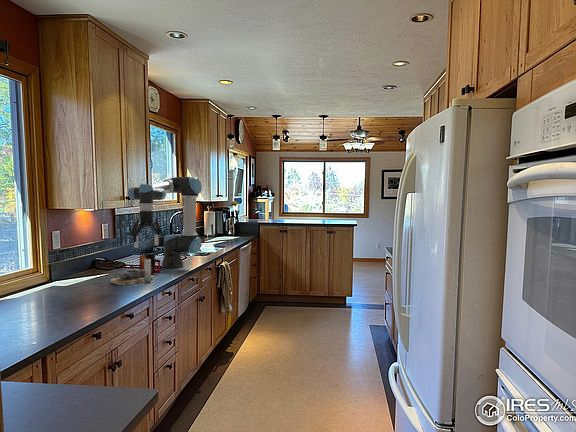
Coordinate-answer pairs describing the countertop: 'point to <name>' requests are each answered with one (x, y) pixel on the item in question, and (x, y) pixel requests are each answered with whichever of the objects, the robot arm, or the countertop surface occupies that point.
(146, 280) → the steel pin
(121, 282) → the chain ends
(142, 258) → the mug
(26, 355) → the countertop surface
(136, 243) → the robot arm
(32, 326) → the countertop surface
